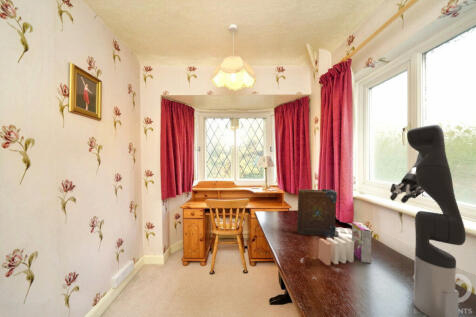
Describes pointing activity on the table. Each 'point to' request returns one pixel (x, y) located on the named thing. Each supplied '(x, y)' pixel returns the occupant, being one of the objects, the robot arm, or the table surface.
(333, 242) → the domino
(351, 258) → the domino
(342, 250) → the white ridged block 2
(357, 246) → the candy bar box
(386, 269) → the table surface
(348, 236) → the white brass knuckles
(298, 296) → the table surface
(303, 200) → the decorative book
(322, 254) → the domino
